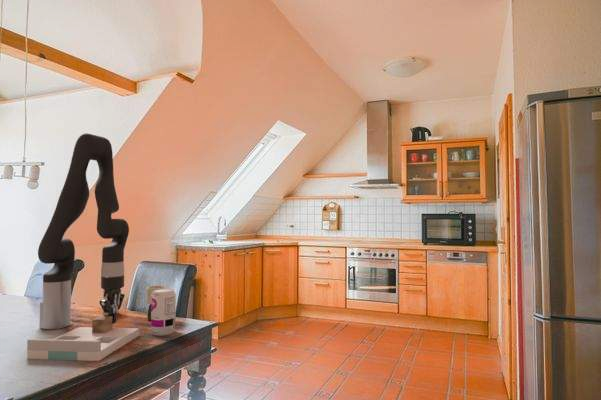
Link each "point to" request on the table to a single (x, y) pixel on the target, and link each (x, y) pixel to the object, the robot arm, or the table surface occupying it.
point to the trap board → (80, 344)
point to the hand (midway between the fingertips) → (112, 323)
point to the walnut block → (102, 324)
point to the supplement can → (163, 312)
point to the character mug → (148, 296)
